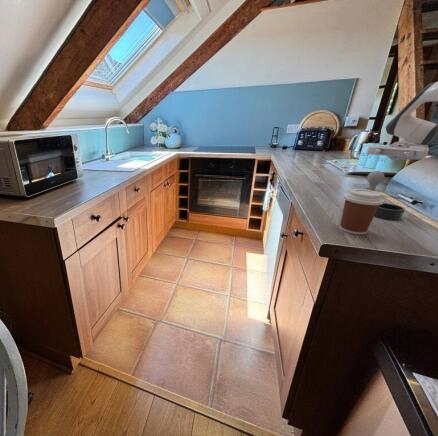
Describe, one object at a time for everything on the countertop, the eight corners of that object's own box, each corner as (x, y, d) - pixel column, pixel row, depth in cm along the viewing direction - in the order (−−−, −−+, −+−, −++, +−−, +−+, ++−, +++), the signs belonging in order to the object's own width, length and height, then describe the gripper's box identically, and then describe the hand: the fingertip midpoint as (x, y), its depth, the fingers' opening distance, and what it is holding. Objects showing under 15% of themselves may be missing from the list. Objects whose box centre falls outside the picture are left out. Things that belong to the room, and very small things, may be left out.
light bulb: (372, 191, 110) (380, 169, 107) (381, 195, 105) (390, 172, 102) (359, 191, 111) (366, 169, 107) (367, 194, 106) (375, 172, 102)
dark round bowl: (393, 213, 86) (397, 204, 85) (405, 221, 79) (409, 211, 78) (366, 210, 89) (369, 201, 87) (375, 218, 82) (379, 208, 81)
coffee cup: (378, 232, 72) (393, 193, 68) (361, 238, 69) (376, 198, 64) (344, 221, 80) (356, 186, 75) (327, 227, 76) (338, 190, 72)
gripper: (374, 142, 122) (364, 144, 115) (433, 145, 107) (427, 148, 100) (369, 155, 125) (360, 157, 118) (427, 160, 109) (420, 163, 102)
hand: (391, 153), depth 108 cm, fingers open, 8 cm apart
